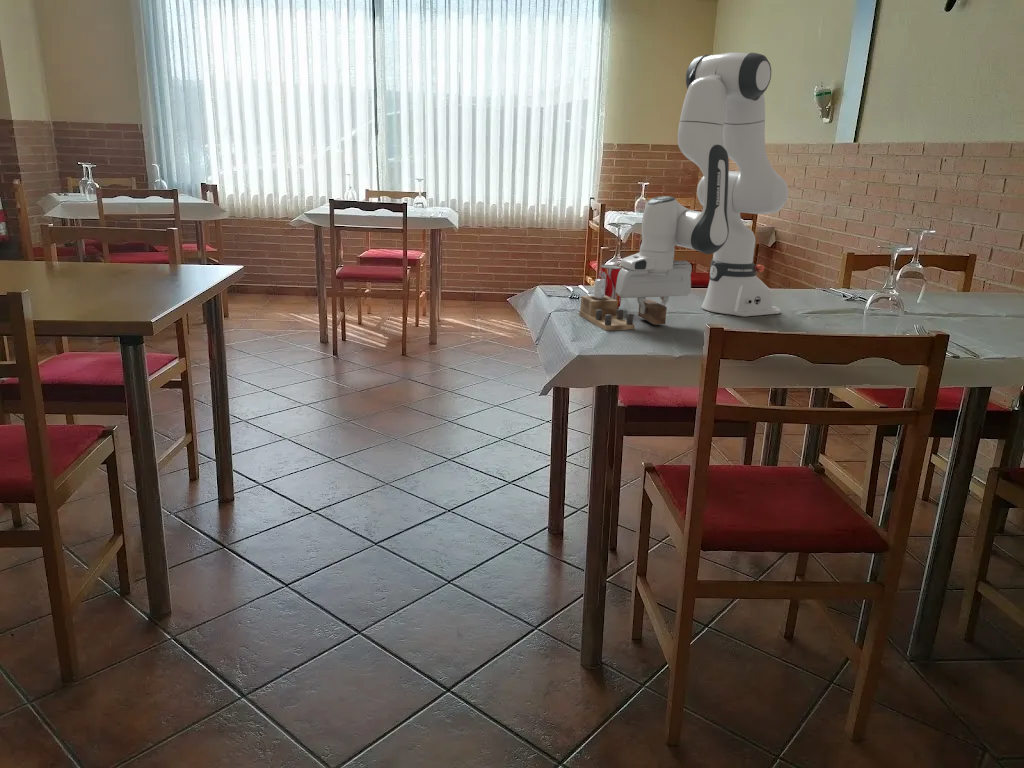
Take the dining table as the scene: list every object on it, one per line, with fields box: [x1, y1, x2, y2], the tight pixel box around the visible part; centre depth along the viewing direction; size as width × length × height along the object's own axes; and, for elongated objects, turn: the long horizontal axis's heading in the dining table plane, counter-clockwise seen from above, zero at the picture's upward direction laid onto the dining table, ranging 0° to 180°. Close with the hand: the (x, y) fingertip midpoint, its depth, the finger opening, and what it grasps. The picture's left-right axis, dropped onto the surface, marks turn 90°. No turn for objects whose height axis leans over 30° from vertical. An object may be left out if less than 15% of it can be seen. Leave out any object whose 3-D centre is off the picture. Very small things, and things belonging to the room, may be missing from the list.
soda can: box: [597, 264, 623, 309], centre depth 221 cm, size 7×7×12 cm
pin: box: [593, 278, 606, 300], centre depth 208 cm, size 3×3×9 cm
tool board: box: [578, 295, 636, 331], centre depth 204 cm, size 8×18×5 cm, turn 17°
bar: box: [637, 298, 667, 326], centre depth 205 cm, size 3×10×4 cm, turn 16°
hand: (651, 313), depth 205 cm, fingers closed on bar, 3 cm apart
